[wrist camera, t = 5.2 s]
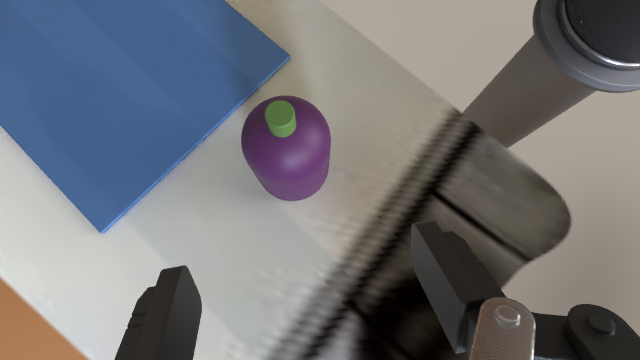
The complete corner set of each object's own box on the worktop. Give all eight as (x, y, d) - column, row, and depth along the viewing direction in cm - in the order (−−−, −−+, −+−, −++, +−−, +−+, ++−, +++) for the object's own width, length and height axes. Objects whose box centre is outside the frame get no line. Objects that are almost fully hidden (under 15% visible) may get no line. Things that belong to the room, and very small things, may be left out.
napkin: (290, 58, 27) (290, 55, 27) (103, 233, 24) (100, 233, 23) (120, -84, 30) (118, -88, 30) (-64, 53, 27) (-70, 50, 27)
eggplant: (321, 127, 26) (322, 57, 17) (334, 194, 25) (342, 154, 16) (252, 138, 26) (219, 74, 17) (262, 207, 24) (232, 173, 16)
